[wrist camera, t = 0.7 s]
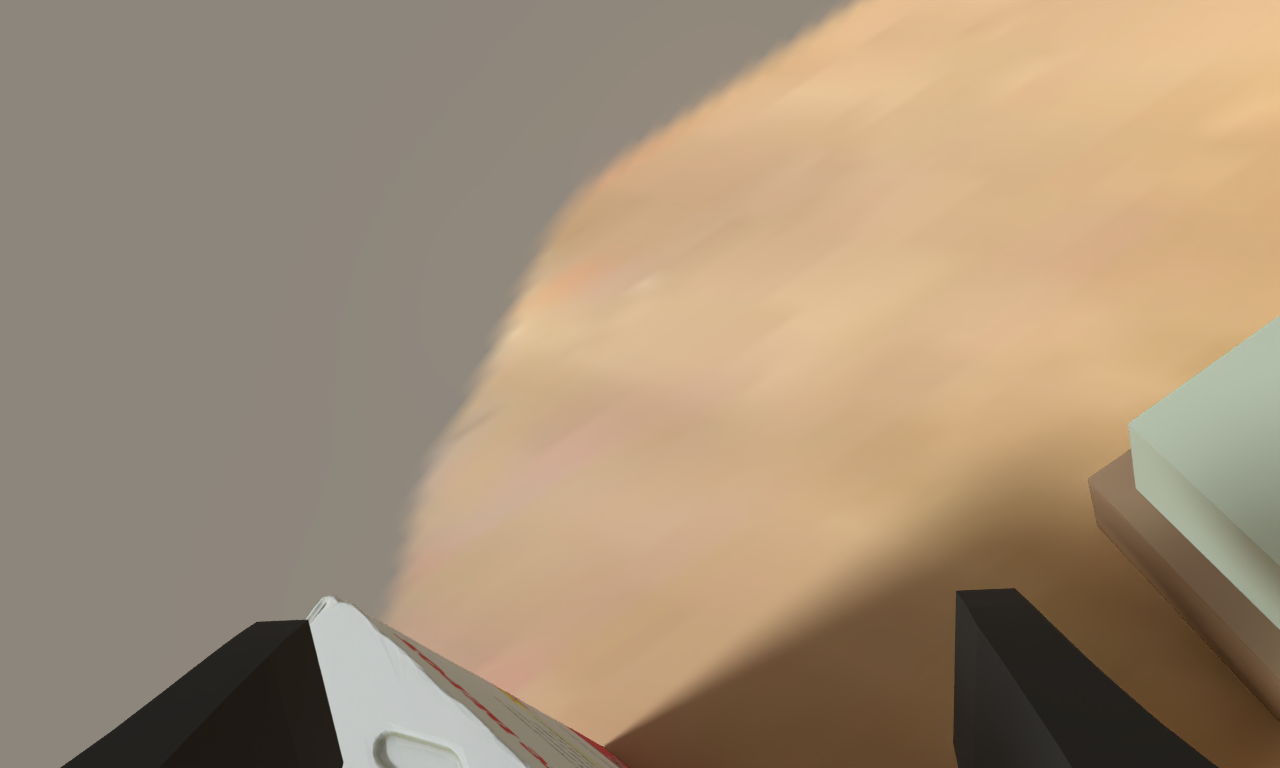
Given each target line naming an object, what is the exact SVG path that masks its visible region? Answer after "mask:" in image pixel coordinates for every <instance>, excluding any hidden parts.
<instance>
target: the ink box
mask: <svg viewBox="0 0 1280 768" xmlns="http://www.w3.org/2000/svg"><path fill="white" fill-rule="evenodd" d="M306 620H308V621H309V625H310V629H311V633H312V637H313V641H314V645H315V649H316V653H317V657H318V661H319V665H320V669H321V673H322V677H323V681H324V685H325V689H326V693H327V697H328V701H329V705H330V710H331V714H332V718H333V722H334V726H335V730H336V734H337V738H338V742H339V746H340V750H341V754H342V758H343V762H344V763H343V767H342V768H629V767H627V766H626V765H625V764H624V763H622V762H621V761H620V760H619V759H617V758H616V757H615V756H614V755H613V754H612V753H610V752H609V751H608V750H606V749H605V748H604V747H603V746H601V745H599V744H597V743H595V742H594V741H592V740H590V739H588V738H587V737H585V736H583V735H582V734H580V733H578V732H576V731H574V730H573V729H571V728H569V727H567V726H565V725H564V724H562V723H560V722H558V721H557V720H555V719H553V718H551V717H549V716H547V715H546V714H544V713H542V712H540V711H538V710H537V709H535V708H534V707H532V706H530V705H528V704H526V703H524V702H523V701H521V700H519V699H518V698H516V697H514V696H513V695H511V694H509V693H508V692H505V691H503V690H501V689H500V688H498V687H496V686H495V685H493V684H491V683H490V682H488V681H486V680H484V679H483V678H481V677H479V676H477V675H475V674H474V673H472V672H470V671H468V670H466V669H464V668H462V667H460V666H459V665H457V664H455V663H453V662H451V661H449V660H448V659H446V658H444V657H442V656H440V655H439V654H437V653H435V652H433V651H431V650H430V649H428V648H426V647H424V646H423V645H421V644H419V643H418V642H416V641H414V640H412V639H411V638H409V637H407V636H405V635H404V634H402V633H400V632H398V631H397V630H395V629H393V628H391V627H390V626H388V625H386V624H384V623H383V622H381V621H379V620H378V619H376V618H374V617H372V616H371V615H369V614H367V613H365V612H364V611H362V610H360V609H359V608H358V607H356V606H355V605H354V604H351V603H349V602H347V601H345V600H343V599H341V598H339V597H337V596H335V595H334V596H325V597H323V598H322V599H321V600H320V601H319V603H318V604H317V605H316V606H315V607H314V609H313V610H312V611H311V613H310V614H309V615H308V617H307V618H306Z"/></svg>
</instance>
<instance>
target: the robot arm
mask: <svg viewBox="0 0 1280 768" xmlns="http://www.w3.org/2000/svg"><path fill="white" fill-rule="evenodd" d="M953 743H954V748H955V753H956V758H957V763H958V768H1218V767H1217V766H1216V765H1214V764H1213V763H1211V762H1210V761H1209V760H1208V759H1206V758H1205V757H1204V756H1203V755H1201V754H1200V753H1199V752H1197V751H1196V750H1195V749H1194V748H1192V747H1191V746H1190V745H1188V744H1187V743H1186V742H1185V741H1183V740H1182V739H1181V738H1179V737H1178V736H1177V735H1176V734H1174V733H1173V732H1172V731H1170V730H1169V729H1168V728H1167V727H1165V726H1164V725H1163V724H1162V723H1160V722H1159V721H1158V720H1157V719H1156V718H1154V717H1153V716H1152V715H1151V714H1150V713H1149V712H1147V711H1146V710H1145V709H1144V708H1143V707H1142V706H1141V705H1139V704H1138V703H1137V702H1136V701H1135V700H1134V699H1133V698H1131V697H1130V696H1129V695H1128V694H1127V693H1126V692H1125V691H1123V690H1122V689H1121V688H1120V687H1119V686H1118V685H1117V684H1115V683H1114V682H1113V681H1112V680H1111V679H1110V678H1109V677H1108V676H1107V675H1105V674H1104V673H1103V672H1102V671H1101V670H1100V669H1099V668H1098V667H1097V666H1096V665H1095V664H1093V663H1092V662H1091V661H1090V660H1089V659H1088V658H1087V657H1086V656H1085V655H1084V654H1083V653H1082V652H1081V651H1080V650H1079V649H1078V648H1076V647H1075V646H1074V645H1073V644H1072V643H1071V642H1070V641H1069V640H1068V639H1067V638H1066V637H1065V636H1064V635H1063V634H1062V633H1061V632H1060V631H1059V630H1058V629H1057V628H1056V627H1055V626H1054V625H1053V624H1052V623H1051V622H1049V621H1048V620H1047V619H1046V618H1045V617H1044V616H1043V615H1042V614H1041V613H1040V612H1039V611H1038V610H1037V609H1036V608H1035V607H1034V606H1033V605H1032V604H1031V603H1030V602H1029V601H1028V600H1027V599H1026V598H1025V597H1023V596H1022V595H1021V594H1020V593H1019V592H1018V591H1017V590H1016V589H1015V588H1010V589H988V590H965V591H956V630H955V685H954V739H953ZM343 763H344V762H343V758H342V754H341V750H340V746H339V742H338V738H337V734H336V730H335V726H334V722H333V718H332V714H331V710H330V705H329V701H328V697H327V693H326V689H325V685H324V681H323V677H322V673H321V669H320V665H319V661H318V657H317V653H316V649H315V645H314V641H313V637H312V633H311V629H310V625H309V621H308V620H291V621H290V620H289V621H269V622H268V621H267V622H256V623H254V624H253V625H251V626H250V627H248V628H247V629H245V630H244V631H242V632H241V633H239V634H238V635H237V636H235V637H234V638H233V639H231V640H230V641H228V642H227V643H226V644H224V645H223V646H222V647H220V648H219V649H218V650H217V651H215V652H214V653H212V654H211V655H210V656H208V657H207V658H206V659H205V660H204V661H202V662H201V663H200V664H198V665H197V666H196V667H194V668H193V669H192V670H190V671H189V672H188V673H187V674H185V675H184V676H183V677H181V678H180V679H179V680H178V681H176V682H175V683H174V684H173V685H171V686H170V687H169V688H167V689H166V690H165V691H163V692H162V693H161V694H160V695H158V696H157V697H156V698H154V699H153V700H152V701H150V702H149V703H148V704H147V705H145V706H144V707H143V708H141V709H140V710H139V711H137V712H136V713H135V714H133V715H132V716H131V717H130V718H128V719H127V720H126V721H124V722H123V723H122V724H120V725H119V726H118V727H117V728H115V729H114V730H112V731H111V732H110V733H108V734H107V735H106V736H104V737H103V738H101V739H100V740H99V741H97V742H96V743H95V744H93V745H92V746H90V747H89V748H87V749H86V750H85V751H83V752H82V753H80V754H79V755H78V756H76V757H75V758H74V759H72V760H71V761H69V762H68V763H66V764H65V765H64V766H62V767H61V768H342V767H343Z"/></svg>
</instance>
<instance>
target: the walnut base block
mask: <svg viewBox="0 0 1280 768" xmlns="http://www.w3.org/2000/svg"><path fill="white" fill-rule="evenodd" d="M1088 483H1089V488H1090V492H1091V497H1092V502H1093V507H1094V512H1095V517H1096V522H1097V526H1098V527H1099V528H1100V529H1101V530H1102V531H1103V532H1104V534H1105V535H1106V536H1107V537H1108V538H1109V539H1110V540H1111V541H1112V542H1113V543H1114V544H1115V545H1116V546H1117V548H1118V549H1119V550H1120V551H1121V552H1122V553H1123V554H1124V555H1125V556H1126V557H1127V558H1128V559H1129V560H1130V562H1131V563H1132V564H1133V565H1134V566H1135V567H1136V568H1137V569H1138V570H1139V571H1140V572H1141V573H1142V574H1143V575H1144V577H1145V578H1146V579H1147V580H1148V581H1149V582H1150V583H1151V584H1152V585H1153V586H1154V587H1155V588H1156V589H1157V591H1158V592H1159V593H1160V594H1161V595H1162V596H1163V597H1164V598H1165V599H1166V600H1167V601H1168V602H1169V603H1170V605H1171V606H1172V607H1173V608H1174V609H1175V610H1176V611H1177V612H1178V613H1179V614H1180V615H1181V616H1182V617H1183V618H1184V620H1185V621H1186V622H1187V623H1188V624H1189V625H1190V626H1191V627H1192V628H1193V629H1194V630H1195V631H1196V632H1197V634H1198V635H1199V636H1200V637H1201V638H1202V639H1203V640H1204V641H1205V642H1206V643H1207V644H1208V645H1209V646H1210V647H1211V649H1212V650H1213V651H1214V652H1215V653H1216V654H1217V655H1218V656H1219V657H1220V658H1221V659H1222V660H1223V661H1224V663H1225V664H1226V665H1227V666H1228V667H1229V668H1230V669H1231V670H1232V671H1233V672H1234V673H1235V674H1236V675H1237V677H1238V678H1239V679H1240V680H1241V681H1242V682H1243V683H1244V684H1245V685H1246V686H1247V687H1248V688H1249V689H1250V690H1251V692H1252V693H1253V694H1254V695H1255V696H1256V697H1257V698H1258V699H1259V700H1260V701H1261V702H1262V703H1263V704H1264V706H1265V707H1266V708H1267V709H1268V710H1269V711H1270V712H1271V713H1272V714H1273V715H1274V716H1275V717H1276V718H1277V720H1278V721H1279V722H1280V630H1279V629H1278V628H1277V627H1276V626H1275V625H1274V624H1273V623H1272V622H1271V621H1270V620H1269V619H1268V618H1267V617H1266V616H1265V615H1264V614H1263V613H1262V612H1261V611H1260V610H1259V609H1258V608H1257V607H1256V606H1255V605H1254V604H1253V603H1252V602H1251V601H1250V600H1249V599H1248V598H1247V597H1246V596H1245V595H1244V594H1243V593H1242V592H1241V591H1240V590H1239V589H1238V588H1237V587H1236V586H1235V585H1234V584H1233V583H1232V582H1231V581H1230V580H1229V579H1228V578H1227V577H1225V576H1224V575H1223V574H1222V573H1221V572H1220V571H1219V570H1218V569H1217V568H1216V567H1215V566H1214V565H1213V564H1212V563H1211V562H1210V561H1209V560H1208V559H1207V558H1206V557H1205V556H1204V555H1203V554H1202V553H1201V552H1200V551H1199V550H1198V549H1197V548H1196V547H1195V546H1194V545H1193V544H1192V543H1191V542H1190V541H1189V540H1188V539H1187V538H1186V537H1185V536H1184V535H1183V534H1182V533H1181V532H1180V531H1179V530H1178V529H1177V528H1176V527H1175V526H1174V525H1173V524H1172V523H1170V522H1169V521H1168V520H1167V519H1166V518H1165V517H1164V516H1163V515H1162V514H1161V513H1160V512H1159V511H1158V510H1157V509H1156V508H1155V507H1154V506H1153V505H1152V504H1151V503H1150V502H1149V501H1148V500H1147V499H1146V498H1145V497H1144V496H1143V495H1142V494H1141V493H1140V492H1139V491H1138V490H1137V489H1136V486H1135V478H1134V469H1133V461H1132V453H1131V449H1130V450H1129V451H1127V452H1126V453H1125V454H1123V455H1122V456H1120V457H1119V458H1117V459H1116V460H1114V461H1113V462H1111V463H1110V464H1109V465H1107V466H1106V467H1104V468H1103V469H1101V470H1100V471H1098V472H1097V473H1096V474H1094V475H1093V476H1091V477H1090V478H1088Z"/></svg>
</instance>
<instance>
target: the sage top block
mask: <svg viewBox="0 0 1280 768" xmlns="http://www.w3.org/2000/svg"><path fill="white" fill-rule="evenodd" d="M1128 428H1129V436H1130V444H1131V453H1132V461H1133V469H1134V478H1135V486H1136V489H1137V490H1138V491H1139V492H1140V493H1141V494H1142V495H1143V496H1144V497H1145V498H1146V499H1147V500H1148V501H1149V502H1150V503H1151V504H1152V505H1153V506H1154V507H1155V508H1156V509H1157V510H1158V511H1159V512H1160V513H1161V514H1162V515H1163V516H1164V517H1165V518H1166V519H1167V520H1168V521H1169V522H1170V523H1172V524H1173V525H1174V526H1175V527H1176V528H1177V529H1178V530H1179V531H1180V532H1181V533H1182V534H1183V535H1184V536H1185V537H1186V538H1187V539H1188V540H1189V541H1190V542H1191V543H1192V544H1193V545H1194V546H1195V547H1196V548H1197V549H1198V550H1199V551H1200V552H1201V553H1202V554H1203V555H1204V556H1205V557H1206V558H1207V559H1208V560H1209V561H1210V562H1211V563H1212V564H1213V565H1214V566H1215V567H1216V568H1217V569H1218V570H1219V571H1220V572H1221V573H1222V574H1223V575H1224V576H1225V577H1227V578H1228V579H1229V580H1230V581H1231V582H1232V583H1233V584H1234V585H1235V586H1236V587H1237V588H1238V589H1239V590H1240V591H1241V592H1242V593H1243V594H1244V595H1245V596H1246V597H1247V598H1248V599H1249V600H1250V601H1251V602H1252V603H1253V604H1254V605H1255V606H1256V607H1257V608H1258V609H1259V610H1260V611H1261V612H1262V613H1263V614H1264V615H1265V616H1266V617H1267V618H1268V619H1269V620H1270V621H1271V622H1272V623H1273V624H1274V625H1275V626H1276V627H1277V628H1278V629H1279V630H1280V315H1279V316H1278V317H1277V318H1275V319H1274V320H1272V321H1271V322H1270V323H1268V324H1267V325H1266V326H1264V327H1263V328H1261V329H1260V330H1259V331H1257V332H1256V333H1254V334H1253V335H1252V336H1250V337H1249V338H1247V339H1246V340H1245V341H1243V342H1242V343H1240V344H1239V345H1238V346H1236V347H1235V348H1233V349H1232V350H1231V351H1229V352H1228V353H1226V354H1225V355H1224V356H1222V357H1221V358H1219V359H1218V360H1217V361H1215V362H1214V363H1212V364H1211V365H1210V366H1208V367H1207V368H1205V369H1204V370H1203V371H1201V372H1200V373H1198V374H1197V375H1196V376H1194V377H1193V378H1191V379H1190V380H1189V381H1187V382H1186V383H1184V384H1183V385H1182V386H1180V387H1179V388H1177V389H1176V390H1175V391H1173V392H1172V393H1170V394H1169V395H1168V396H1166V397H1165V398H1163V399H1162V400H1161V401H1159V402H1158V403H1156V404H1155V405H1154V406H1152V407H1151V408H1149V409H1148V410H1147V411H1145V412H1144V413H1142V414H1141V415H1140V416H1138V417H1137V418H1135V419H1134V420H1133V421H1131V422H1130V423H1129V424H1128Z"/></svg>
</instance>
